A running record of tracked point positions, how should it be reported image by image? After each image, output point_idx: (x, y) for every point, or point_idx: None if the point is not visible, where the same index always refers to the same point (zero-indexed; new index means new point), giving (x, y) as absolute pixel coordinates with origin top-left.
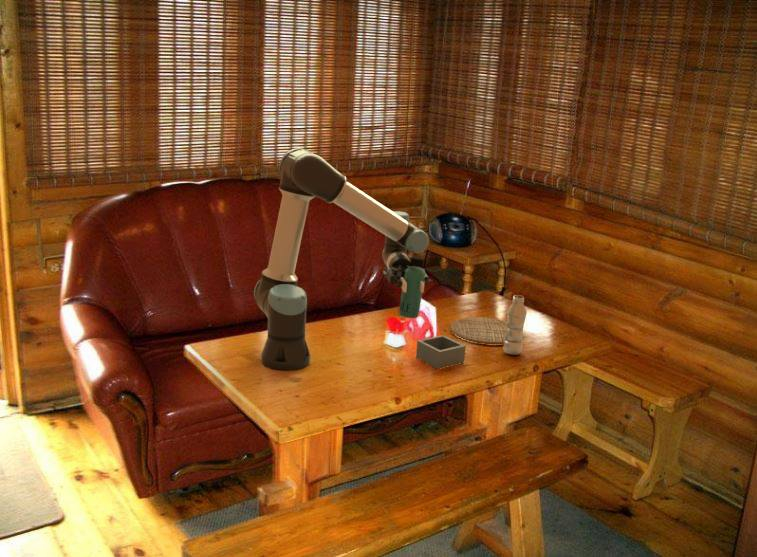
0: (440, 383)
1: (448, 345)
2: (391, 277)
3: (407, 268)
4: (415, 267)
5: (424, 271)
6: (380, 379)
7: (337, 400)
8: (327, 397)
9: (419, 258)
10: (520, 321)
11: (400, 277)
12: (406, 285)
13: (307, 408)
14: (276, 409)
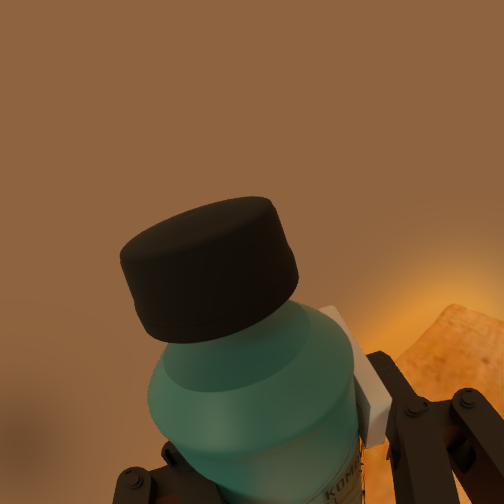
0: None
1: None
2: (465, 392)
3: (331, 336)
4: (234, 358)
5: (156, 365)
6: (375, 478)
7: (426, 373)
8: (445, 375)
9: (181, 213)
10: None
11: (402, 458)
12: None
13: (452, 340)
14: (482, 325)
